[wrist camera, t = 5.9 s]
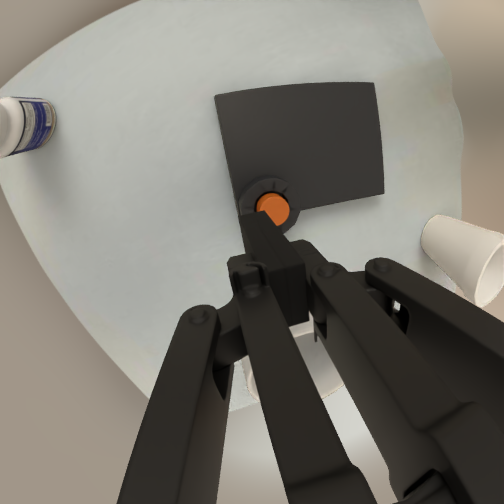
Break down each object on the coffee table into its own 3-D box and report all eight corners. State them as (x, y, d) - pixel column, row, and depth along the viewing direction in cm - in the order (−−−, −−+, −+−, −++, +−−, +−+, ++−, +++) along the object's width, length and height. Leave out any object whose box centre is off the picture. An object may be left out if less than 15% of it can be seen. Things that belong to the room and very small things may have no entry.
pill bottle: (12, 138, 21) (-43, 149, 12) (32, 92, 19) (-22, 87, 10) (44, 157, 23) (-11, 174, 14) (66, 109, 21) (13, 107, 12)
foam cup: (417, 273, 38) (472, 320, 26) (408, 224, 34) (475, 266, 22) (456, 242, 37) (511, 279, 26) (450, 194, 33) (516, 225, 22)
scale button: (258, 224, 27) (262, 229, 26) (253, 196, 26) (257, 200, 25) (286, 217, 27) (291, 222, 26) (282, 190, 26) (287, 193, 25)
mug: (309, 343, 40) (342, 413, 28) (234, 355, 38) (250, 433, 26) (318, 251, 33) (374, 316, 22) (226, 261, 32) (243, 340, 20)
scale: (241, 230, 30) (246, 242, 27) (214, 97, 24) (215, 92, 21) (377, 201, 32) (393, 209, 29) (366, 83, 26) (383, 81, 22)
